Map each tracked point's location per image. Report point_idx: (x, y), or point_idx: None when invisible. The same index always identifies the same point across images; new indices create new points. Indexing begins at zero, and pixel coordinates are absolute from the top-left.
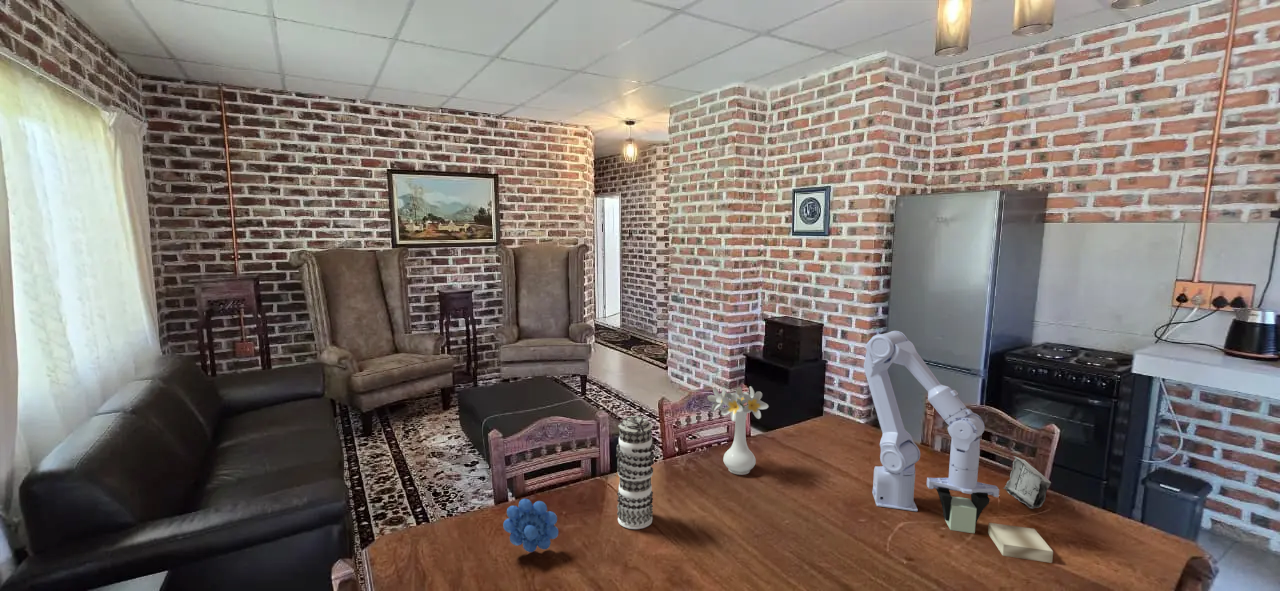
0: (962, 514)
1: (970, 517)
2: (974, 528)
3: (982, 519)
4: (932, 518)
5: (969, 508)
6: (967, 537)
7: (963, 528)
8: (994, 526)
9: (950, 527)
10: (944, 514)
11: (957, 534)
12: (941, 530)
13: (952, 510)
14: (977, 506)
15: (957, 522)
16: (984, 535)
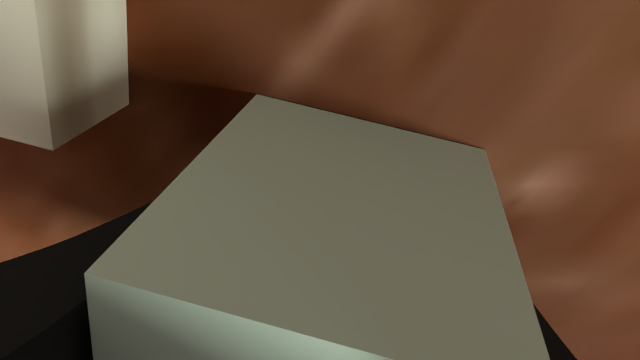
0: (358, 239)
1: (251, 192)
2: (243, 116)
3: None
4: None
5: (220, 298)
6: (378, 4)
7: (357, 134)
8: (6, 63)
9: (488, 163)
10: None
11: (460, 63)
12: (601, 139)
13: (523, 315)
14: (40, 323)
15: (424, 179)
16: (174, 61)
